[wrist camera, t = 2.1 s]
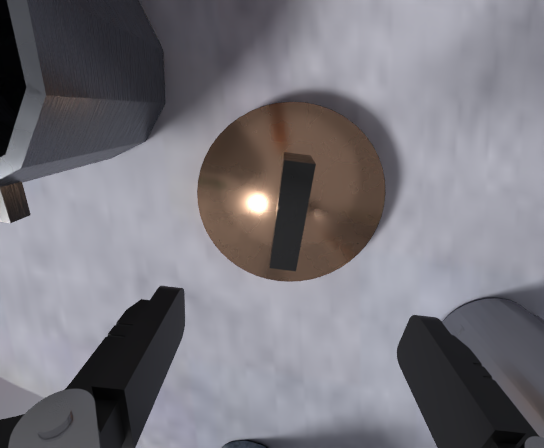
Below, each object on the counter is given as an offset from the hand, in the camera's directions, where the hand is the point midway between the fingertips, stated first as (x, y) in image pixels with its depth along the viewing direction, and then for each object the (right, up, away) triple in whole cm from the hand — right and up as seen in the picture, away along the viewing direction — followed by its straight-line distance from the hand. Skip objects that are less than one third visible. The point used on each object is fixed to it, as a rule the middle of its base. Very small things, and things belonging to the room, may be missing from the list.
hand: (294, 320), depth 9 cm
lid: (+1, +6, +14) cm, 15 cm away
